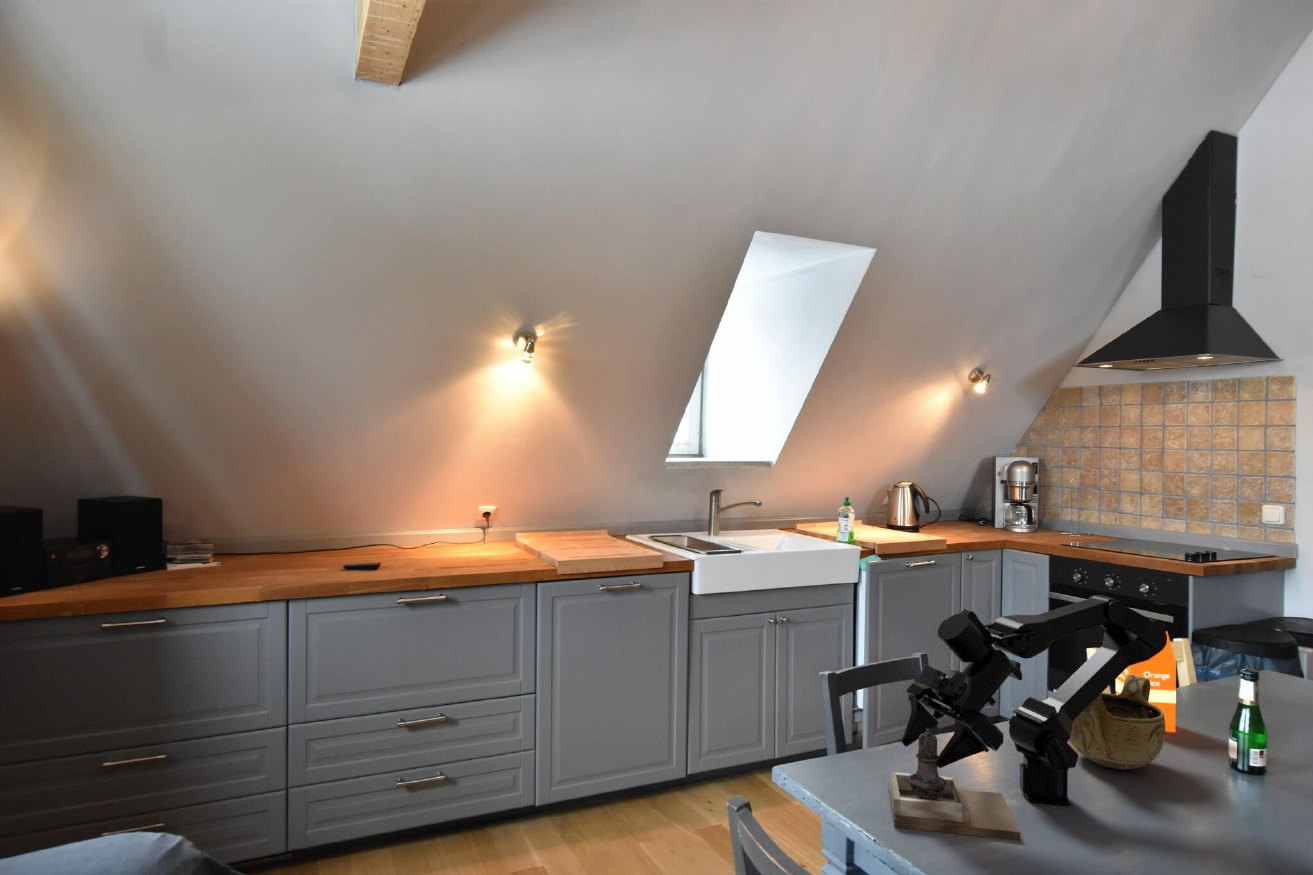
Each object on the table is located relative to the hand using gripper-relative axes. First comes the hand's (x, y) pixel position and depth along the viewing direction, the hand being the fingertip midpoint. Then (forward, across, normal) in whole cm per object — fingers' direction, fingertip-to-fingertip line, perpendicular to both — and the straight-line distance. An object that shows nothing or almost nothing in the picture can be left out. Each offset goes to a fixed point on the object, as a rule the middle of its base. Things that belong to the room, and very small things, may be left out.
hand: (919, 754), depth 131 cm
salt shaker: (+5, 0, +7) cm, 8 cm away
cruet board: (+3, +2, +10) cm, 10 cm away
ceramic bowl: (-27, -9, +40) cm, 49 cm away
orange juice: (-44, -25, +57) cm, 76 cm away
